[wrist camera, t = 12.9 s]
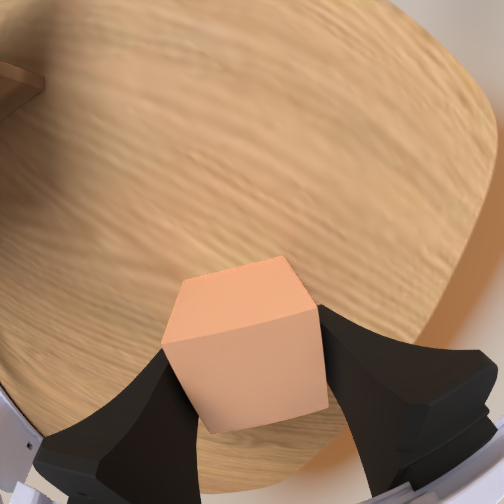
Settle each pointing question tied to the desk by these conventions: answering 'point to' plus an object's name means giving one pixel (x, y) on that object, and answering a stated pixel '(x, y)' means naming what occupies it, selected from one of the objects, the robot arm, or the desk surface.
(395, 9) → the desk surface
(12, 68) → the cubby
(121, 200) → the desk surface
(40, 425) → the desk surface
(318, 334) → the terracotta block
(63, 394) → the desk surface
